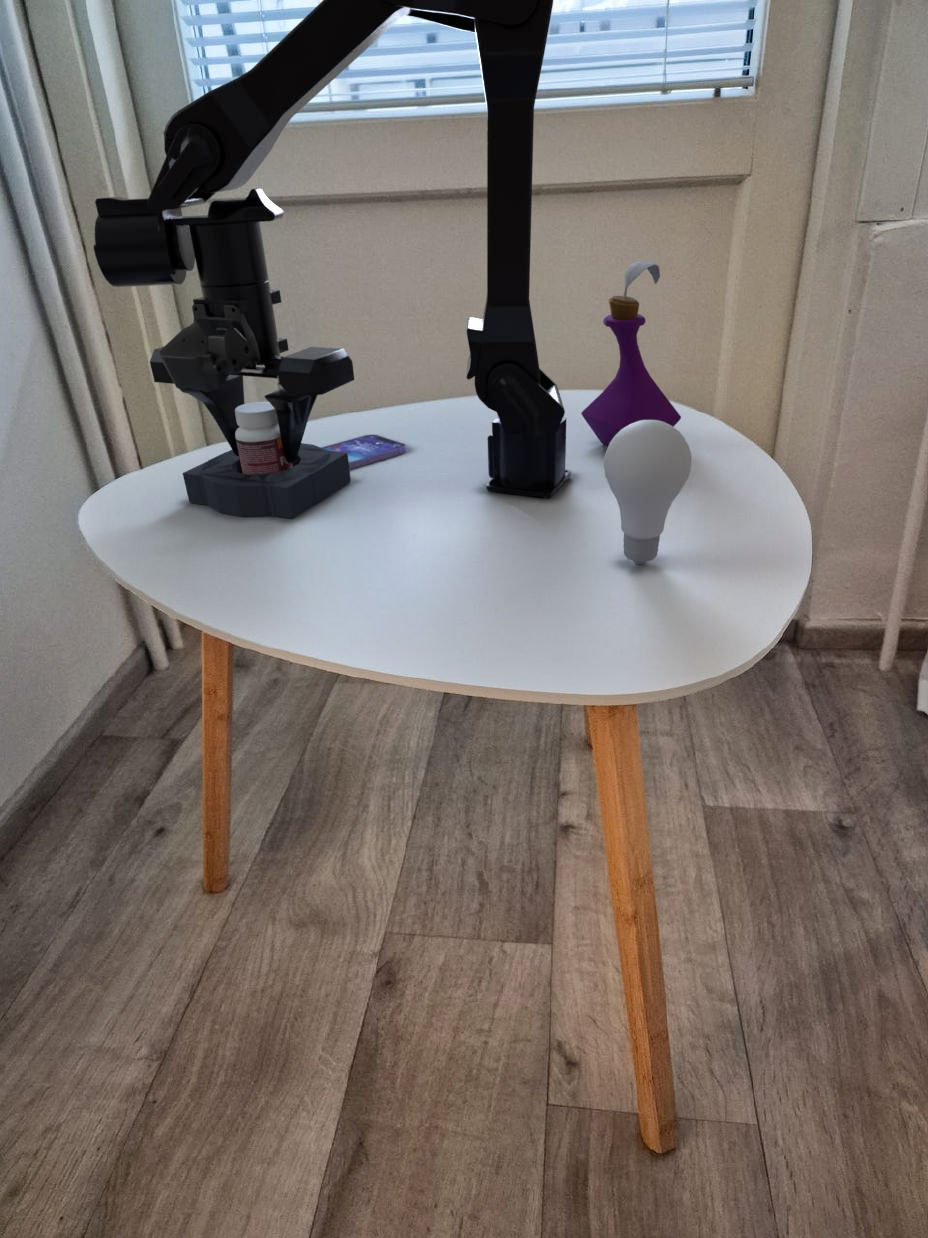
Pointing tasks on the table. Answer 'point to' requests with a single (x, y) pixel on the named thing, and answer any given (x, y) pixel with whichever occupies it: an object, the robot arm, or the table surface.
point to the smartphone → (368, 449)
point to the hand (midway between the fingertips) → (265, 458)
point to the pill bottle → (259, 439)
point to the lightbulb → (646, 481)
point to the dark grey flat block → (268, 484)
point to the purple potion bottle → (628, 372)
